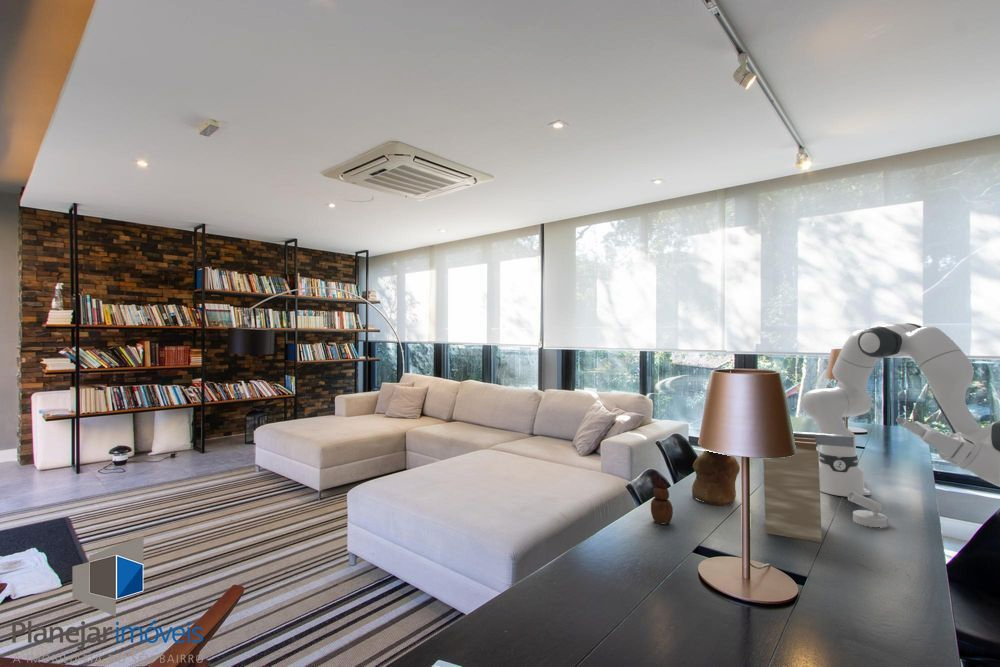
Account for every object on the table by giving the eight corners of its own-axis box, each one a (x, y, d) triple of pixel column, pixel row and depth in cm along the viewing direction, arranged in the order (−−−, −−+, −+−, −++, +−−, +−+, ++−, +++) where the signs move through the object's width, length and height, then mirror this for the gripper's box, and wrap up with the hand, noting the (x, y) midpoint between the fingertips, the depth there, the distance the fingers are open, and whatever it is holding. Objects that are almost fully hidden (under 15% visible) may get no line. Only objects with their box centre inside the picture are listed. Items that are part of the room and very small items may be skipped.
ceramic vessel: (729, 492, 181) (726, 414, 182) (754, 513, 159) (751, 423, 160) (686, 492, 183) (684, 414, 183) (705, 512, 161) (702, 423, 162)
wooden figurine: (647, 520, 155) (646, 474, 155) (660, 517, 157) (659, 471, 158) (663, 527, 149) (662, 479, 149) (676, 524, 151) (675, 476, 152)
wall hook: (841, 487, 155) (876, 488, 153) (842, 517, 155) (877, 518, 153) (855, 495, 146) (893, 497, 144) (857, 527, 146) (894, 529, 144)
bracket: (775, 439, 153) (774, 414, 153) (852, 445, 142) (851, 418, 142) (775, 441, 150) (774, 415, 150) (853, 447, 140) (852, 420, 140)
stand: (767, 517, 155) (764, 431, 156) (819, 525, 148) (816, 435, 148) (765, 532, 143) (762, 439, 144) (821, 542, 136) (818, 443, 136)
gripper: (953, 432, 141) (899, 407, 148) (975, 445, 124) (914, 416, 130) (939, 450, 143) (887, 424, 149) (960, 465, 125) (900, 435, 132)
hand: (900, 420), depth 140 cm, fingers open, 8 cm apart
